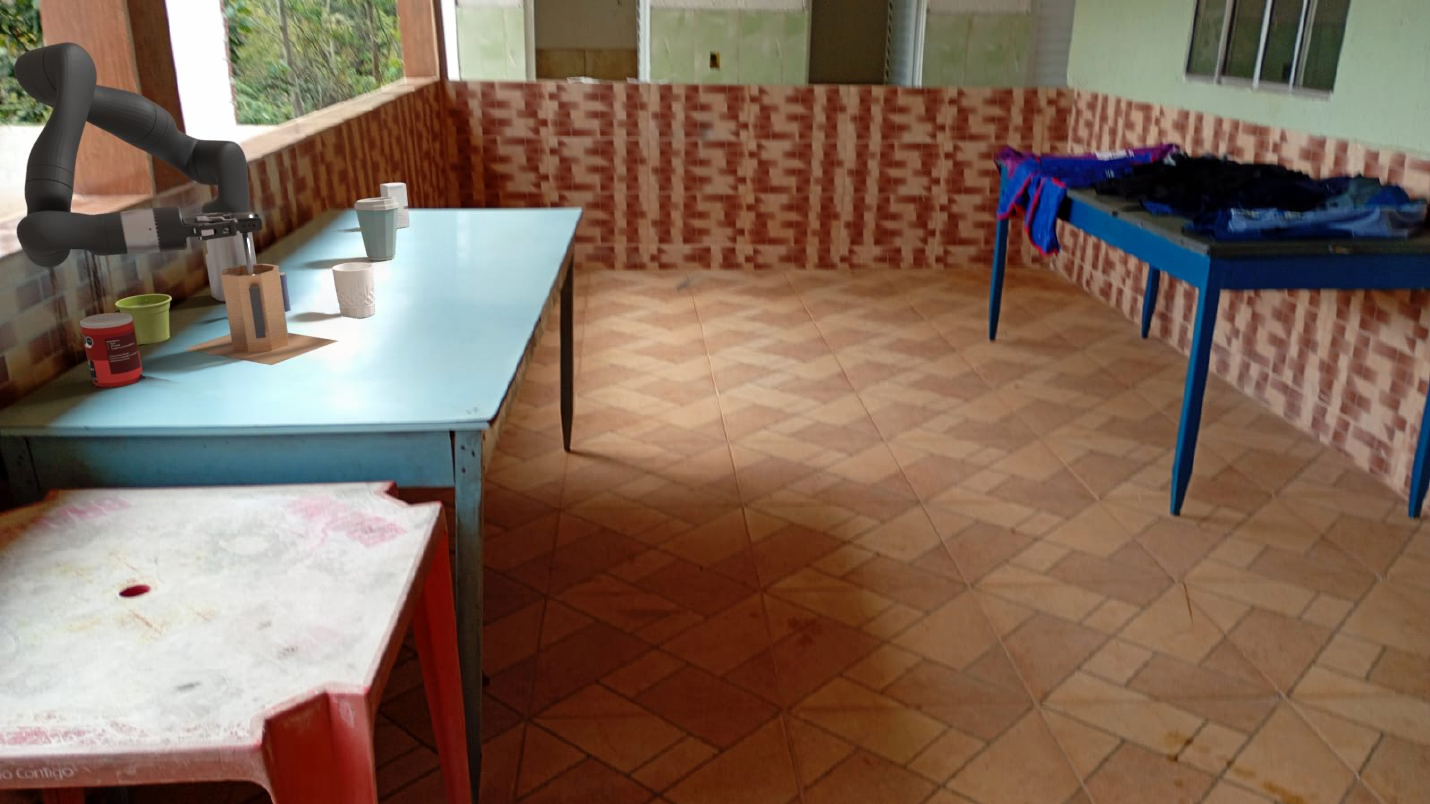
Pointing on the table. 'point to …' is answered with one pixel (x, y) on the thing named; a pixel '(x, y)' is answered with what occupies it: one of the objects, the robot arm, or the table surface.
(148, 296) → the plant pot
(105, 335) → the canned food
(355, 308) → the white cup
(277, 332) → the press beaker
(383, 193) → the skincare box
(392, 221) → the disposable coffee cup
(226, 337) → the walnut board
